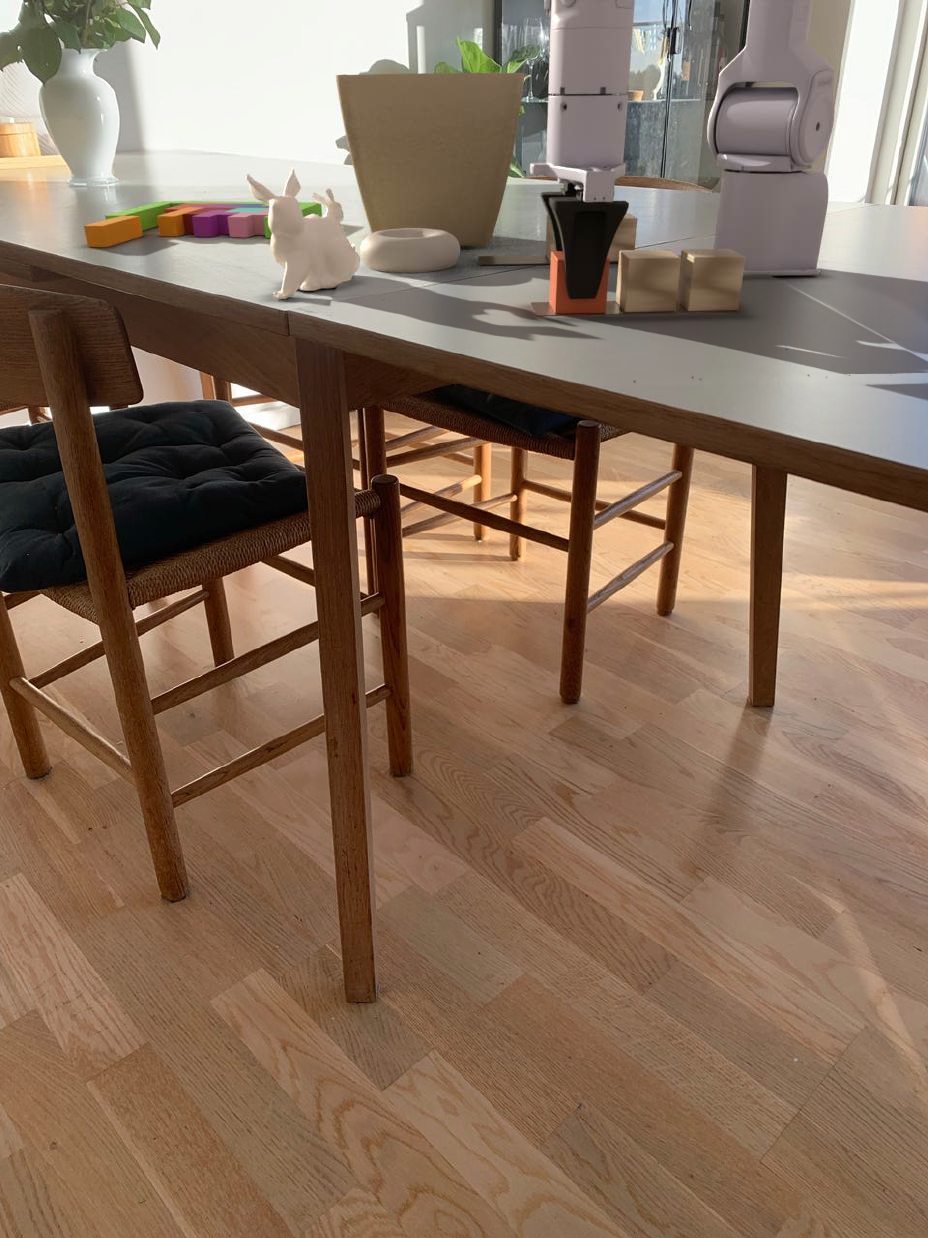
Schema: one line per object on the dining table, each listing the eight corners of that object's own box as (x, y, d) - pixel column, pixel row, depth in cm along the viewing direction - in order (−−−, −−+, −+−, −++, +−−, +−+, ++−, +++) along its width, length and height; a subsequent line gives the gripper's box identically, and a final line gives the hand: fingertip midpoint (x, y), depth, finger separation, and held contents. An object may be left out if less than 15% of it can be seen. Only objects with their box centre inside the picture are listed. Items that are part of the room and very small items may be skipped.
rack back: (629, 257, 96) (633, 212, 94) (639, 265, 92) (643, 218, 90) (478, 260, 96) (478, 214, 93) (480, 268, 91) (480, 220, 89)
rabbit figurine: (280, 301, 78) (267, 176, 73) (225, 290, 82) (209, 171, 78) (378, 280, 86) (372, 166, 81) (324, 271, 90) (315, 162, 85)
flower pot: (347, 232, 114) (337, 75, 106) (498, 228, 116) (499, 74, 107) (347, 256, 98) (335, 73, 89) (522, 251, 100) (526, 72, 91)
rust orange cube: (597, 302, 75) (600, 250, 73) (606, 312, 71) (609, 258, 69) (548, 302, 75) (550, 251, 73) (555, 313, 71) (557, 259, 69)
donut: (348, 277, 88) (449, 278, 86) (344, 239, 86) (447, 239, 85) (377, 260, 97) (469, 260, 95) (374, 225, 95) (468, 224, 93)
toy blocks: (165, 218, 127) (69, 246, 106) (162, 200, 126) (65, 225, 105) (322, 220, 124) (256, 249, 102) (321, 202, 123) (253, 227, 101)
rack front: (721, 303, 76) (728, 247, 74) (739, 317, 72) (748, 257, 69) (529, 307, 75) (531, 250, 73) (536, 320, 71) (538, 260, 69)
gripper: (522, 94, 72) (518, 275, 79) (544, 96, 59) (537, 312, 66) (611, 93, 72) (600, 274, 79) (652, 95, 59) (634, 310, 66)
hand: (577, 292), depth 73 cm, fingers closed on rust orange cube, 4 cm apart
